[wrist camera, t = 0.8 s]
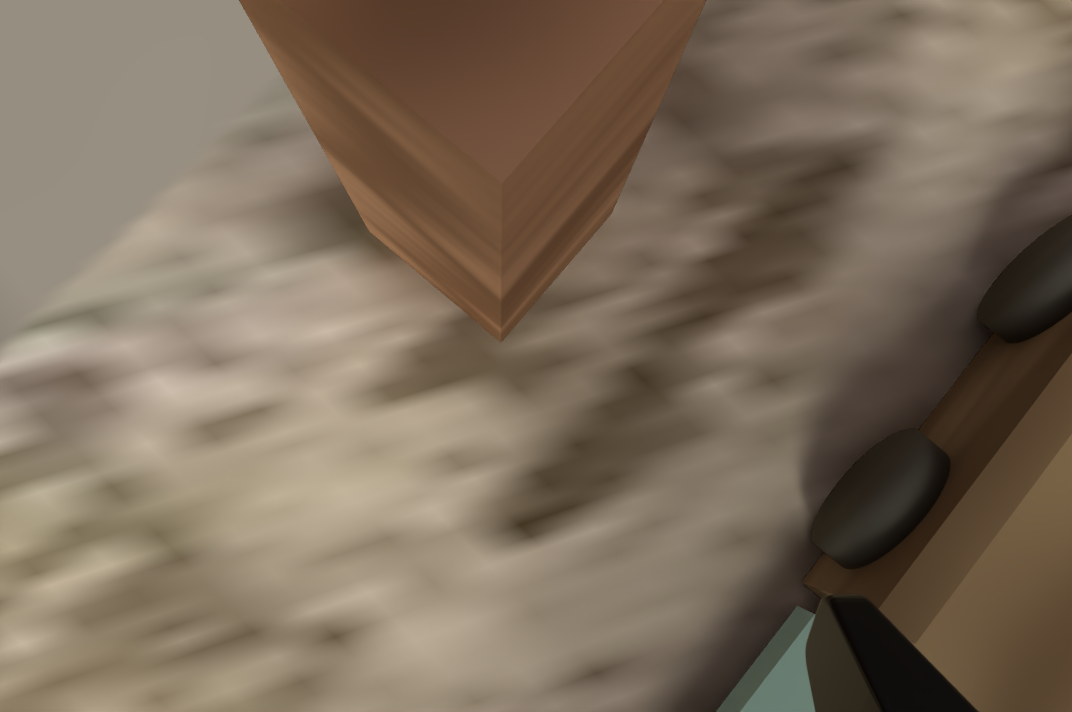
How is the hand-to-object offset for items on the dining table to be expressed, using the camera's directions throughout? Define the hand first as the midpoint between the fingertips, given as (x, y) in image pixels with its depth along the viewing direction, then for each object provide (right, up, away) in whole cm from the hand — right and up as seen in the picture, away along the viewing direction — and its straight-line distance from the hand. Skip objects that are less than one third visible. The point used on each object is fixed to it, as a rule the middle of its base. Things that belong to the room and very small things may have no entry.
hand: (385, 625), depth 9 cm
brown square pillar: (0, +6, +14) cm, 15 cm away
